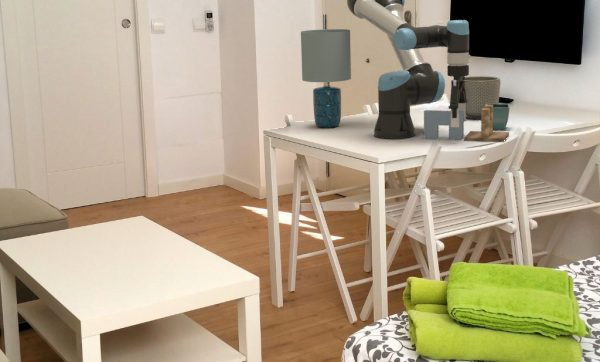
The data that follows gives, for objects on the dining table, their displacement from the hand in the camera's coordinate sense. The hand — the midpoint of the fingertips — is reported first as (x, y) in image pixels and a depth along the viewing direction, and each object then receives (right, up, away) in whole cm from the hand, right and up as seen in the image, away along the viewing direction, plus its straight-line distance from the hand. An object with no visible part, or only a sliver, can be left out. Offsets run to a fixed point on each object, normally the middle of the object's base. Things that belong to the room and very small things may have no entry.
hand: (458, 124), depth 320 cm
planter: (+16, +5, +45) cm, 49 cm away
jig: (+11, -5, +1) cm, 12 cm away
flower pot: (+18, -1, +19) cm, 26 cm away
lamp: (-46, +1, +37) cm, 59 cm away
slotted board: (-5, -5, +3) cm, 8 cm away
